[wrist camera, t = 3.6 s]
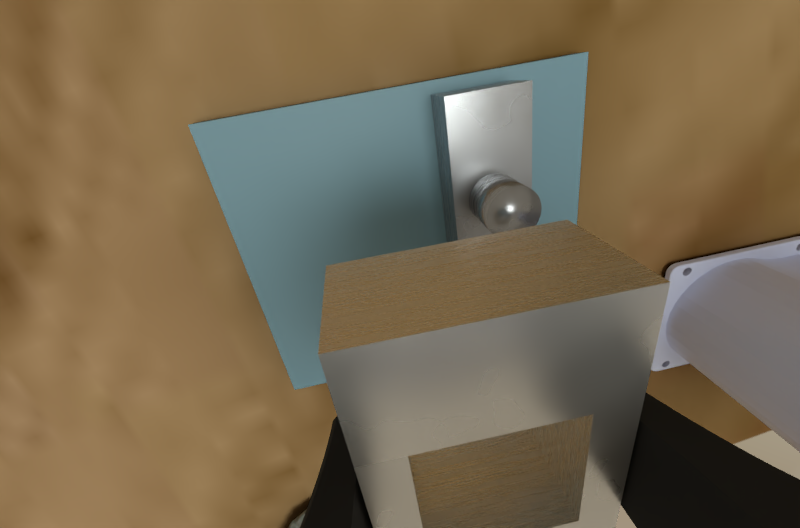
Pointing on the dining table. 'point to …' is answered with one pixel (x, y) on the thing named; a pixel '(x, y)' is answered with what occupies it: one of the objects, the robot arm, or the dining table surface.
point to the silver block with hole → (492, 377)
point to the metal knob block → (486, 158)
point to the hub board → (364, 185)
